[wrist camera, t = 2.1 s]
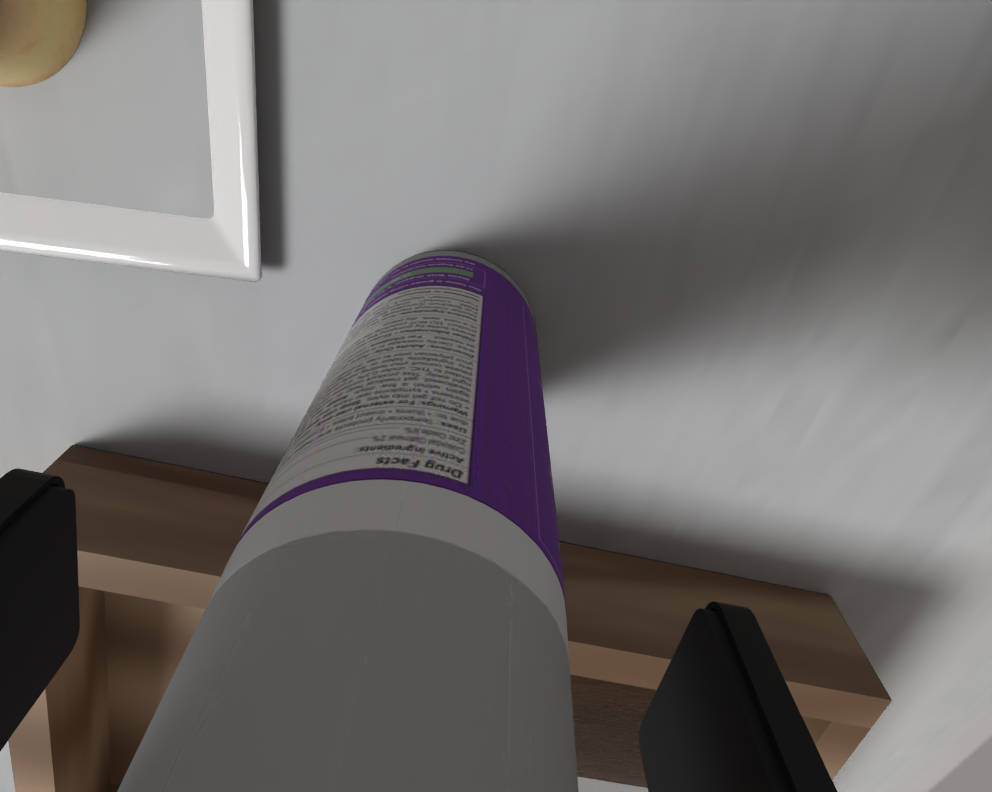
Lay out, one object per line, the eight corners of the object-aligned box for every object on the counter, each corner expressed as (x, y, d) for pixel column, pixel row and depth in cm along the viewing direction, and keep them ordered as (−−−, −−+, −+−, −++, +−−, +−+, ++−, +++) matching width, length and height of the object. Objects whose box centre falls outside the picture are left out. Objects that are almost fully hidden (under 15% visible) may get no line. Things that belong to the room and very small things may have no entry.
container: (546, 399, 19) (640, 1211, 6) (384, 422, 20) (130, 1230, 6) (522, 235, 17) (584, 927, 4) (340, 264, 18) (-178, 983, 4)
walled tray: (72, 444, 20) (-20, 532, 17) (830, 595, 22) (891, 700, 19) (90, 777, 27) (28, 888, 24) (662, 865, 30) (683, 977, 26)
